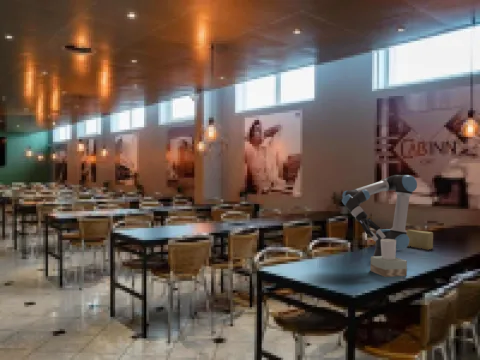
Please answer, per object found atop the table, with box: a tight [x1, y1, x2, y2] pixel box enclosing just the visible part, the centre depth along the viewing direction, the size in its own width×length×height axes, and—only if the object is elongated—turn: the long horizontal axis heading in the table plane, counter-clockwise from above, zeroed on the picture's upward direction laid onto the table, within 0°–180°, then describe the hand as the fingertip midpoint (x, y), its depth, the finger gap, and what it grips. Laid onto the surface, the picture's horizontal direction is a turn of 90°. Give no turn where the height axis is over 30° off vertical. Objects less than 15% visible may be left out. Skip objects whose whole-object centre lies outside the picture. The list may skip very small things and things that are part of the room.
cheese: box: [406, 229, 434, 251], centre depth 368 cm, size 22×10×15 cm, turn 42°
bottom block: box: [369, 263, 408, 278], centre depth 270 cm, size 16×16×5 cm
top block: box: [370, 256, 408, 270], centre depth 270 cm, size 16×16×5 cm
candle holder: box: [380, 239, 397, 260], centre depth 270 cm, size 10×10×12 cm
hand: (380, 239), depth 272 cm, fingers open, 13 cm apart
